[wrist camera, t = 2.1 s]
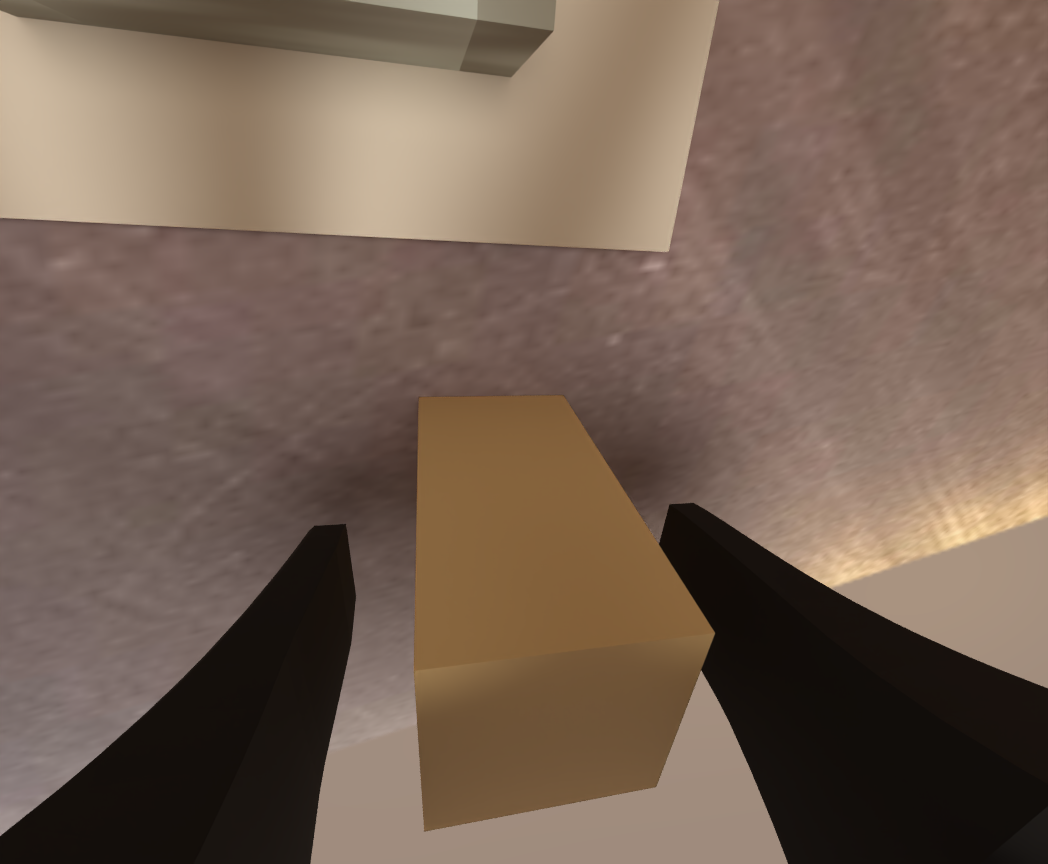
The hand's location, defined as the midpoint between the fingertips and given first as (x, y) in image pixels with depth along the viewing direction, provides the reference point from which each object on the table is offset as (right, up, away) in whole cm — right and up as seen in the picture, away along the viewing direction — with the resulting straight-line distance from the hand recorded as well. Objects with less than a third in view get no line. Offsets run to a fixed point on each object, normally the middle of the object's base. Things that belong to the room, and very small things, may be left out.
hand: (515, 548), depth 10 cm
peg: (-1, +2, +3) cm, 4 cm away
